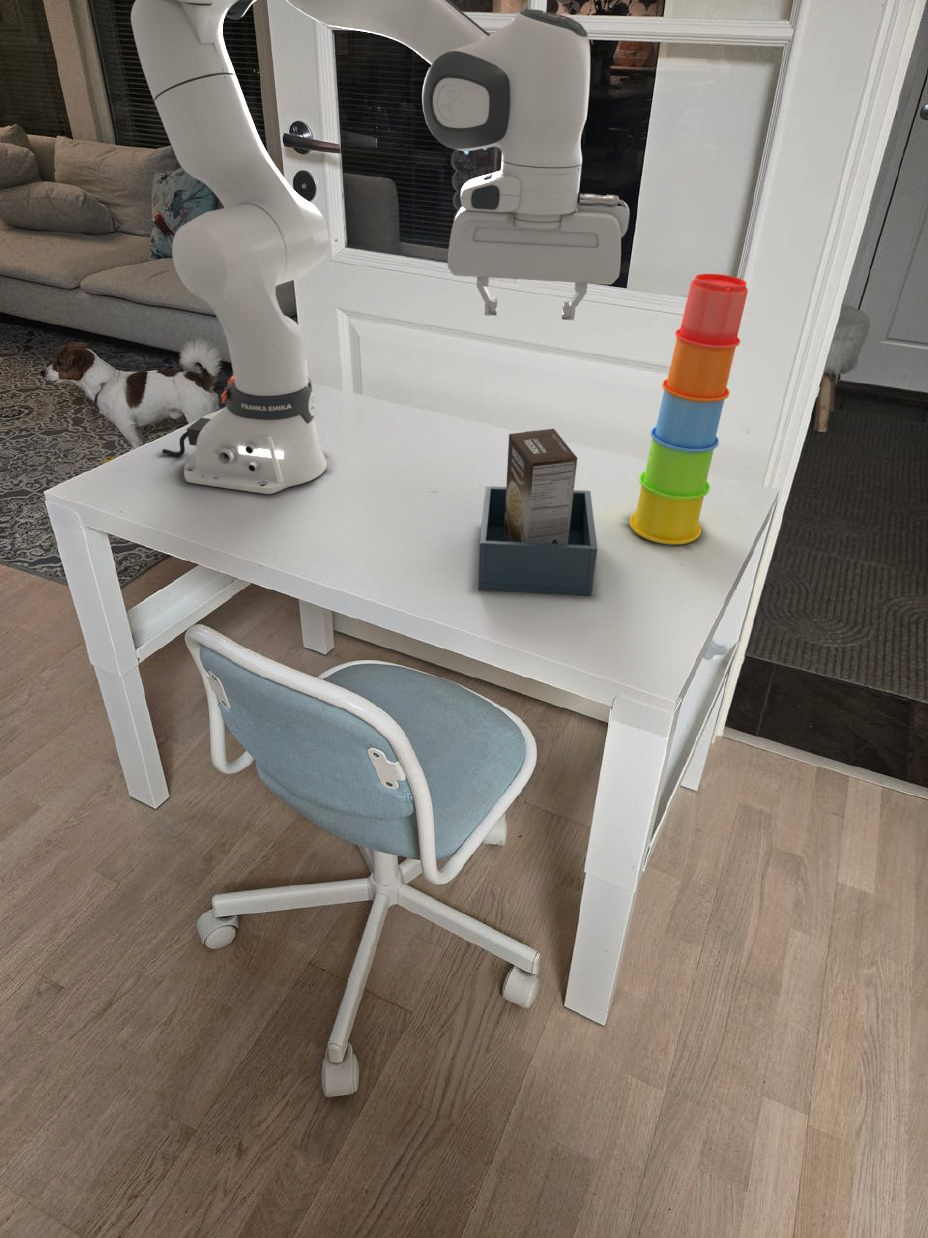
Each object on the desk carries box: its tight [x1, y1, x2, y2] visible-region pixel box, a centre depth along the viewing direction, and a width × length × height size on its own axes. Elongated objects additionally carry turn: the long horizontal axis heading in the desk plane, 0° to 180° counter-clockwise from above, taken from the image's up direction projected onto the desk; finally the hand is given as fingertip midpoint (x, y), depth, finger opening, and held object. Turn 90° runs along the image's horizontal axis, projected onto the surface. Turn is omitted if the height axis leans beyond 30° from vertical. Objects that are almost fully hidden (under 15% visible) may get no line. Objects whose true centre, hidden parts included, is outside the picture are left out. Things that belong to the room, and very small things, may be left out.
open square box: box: [477, 485, 598, 596], centre depth 110 cm, size 15×16×7 cm
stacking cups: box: [629, 273, 749, 546], centre depth 109 cm, size 10×10×35 cm
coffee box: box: [504, 428, 578, 545], centre depth 107 cm, size 9×6×16 cm
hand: (529, 316), depth 100 cm, fingers open, 8 cm apart
